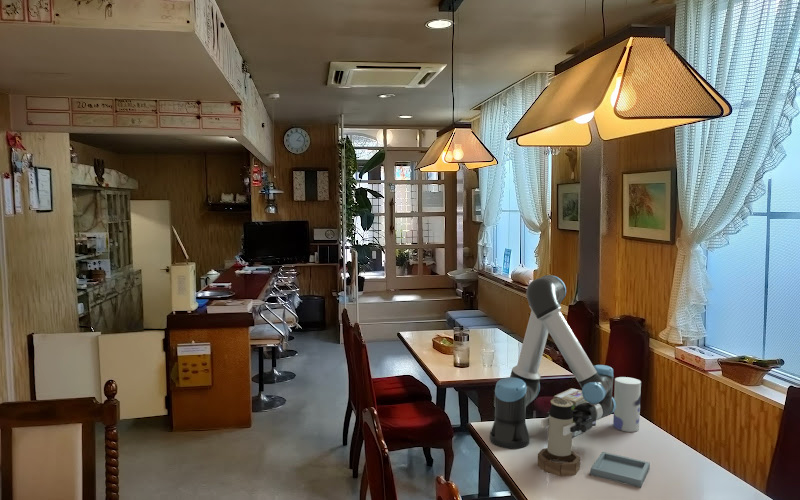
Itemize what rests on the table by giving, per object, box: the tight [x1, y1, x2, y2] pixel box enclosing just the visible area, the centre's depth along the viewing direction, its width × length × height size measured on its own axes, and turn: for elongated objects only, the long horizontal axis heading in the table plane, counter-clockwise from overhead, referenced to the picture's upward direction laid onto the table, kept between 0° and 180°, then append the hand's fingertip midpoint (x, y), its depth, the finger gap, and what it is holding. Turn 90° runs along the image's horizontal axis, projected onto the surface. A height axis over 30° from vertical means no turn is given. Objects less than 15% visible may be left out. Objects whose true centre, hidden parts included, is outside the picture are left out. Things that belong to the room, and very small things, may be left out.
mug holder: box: [536, 447, 581, 477], centre depth 202 cm, size 13×13×4 cm
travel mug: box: [546, 398, 573, 457], centre depth 201 cm, size 8×8×18 cm
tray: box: [590, 451, 651, 489], centre depth 199 cm, size 16×16×2 cm
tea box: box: [553, 387, 586, 437], centre depth 237 cm, size 15×10×15 cm
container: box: [612, 376, 642, 433], centre depth 239 cm, size 10×10×20 cm
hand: (552, 427), depth 198 cm, fingers closed on travel mug, 8 cm apart
